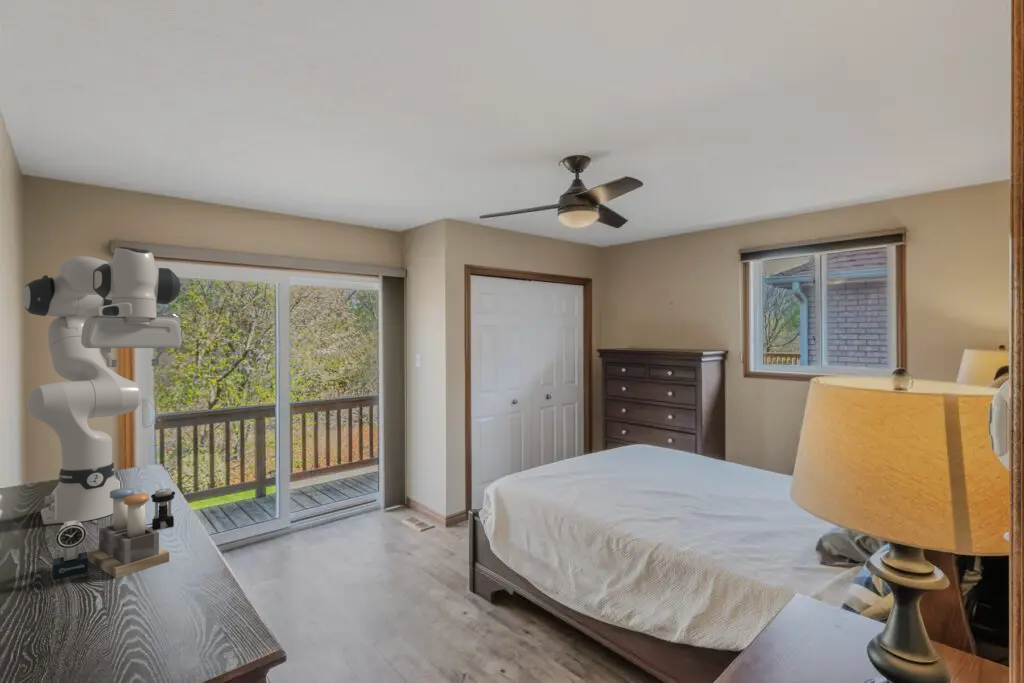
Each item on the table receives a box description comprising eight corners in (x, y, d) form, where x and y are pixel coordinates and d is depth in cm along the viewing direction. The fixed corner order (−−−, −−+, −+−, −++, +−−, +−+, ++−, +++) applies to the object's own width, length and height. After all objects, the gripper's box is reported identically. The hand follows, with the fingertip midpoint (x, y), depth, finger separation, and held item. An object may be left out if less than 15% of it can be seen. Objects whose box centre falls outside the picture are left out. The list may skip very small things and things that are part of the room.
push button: (144, 533, 128) (145, 495, 129) (144, 527, 133) (144, 490, 133) (175, 528, 133) (175, 491, 133) (174, 522, 137) (174, 486, 137)
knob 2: (120, 538, 110) (120, 497, 110) (143, 532, 113) (143, 492, 113) (128, 542, 107) (129, 500, 107) (151, 536, 111) (152, 495, 111)
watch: (52, 583, 102) (53, 530, 102) (53, 570, 108) (54, 520, 108) (88, 575, 105) (89, 523, 105) (87, 562, 111) (87, 514, 111)
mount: (87, 560, 113) (88, 529, 113) (139, 545, 121) (139, 516, 121) (115, 578, 104) (116, 545, 104) (169, 561, 112) (169, 530, 112)
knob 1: (106, 530, 114) (106, 491, 114) (129, 525, 118) (129, 486, 118) (113, 534, 112) (114, 494, 112) (136, 528, 115) (137, 489, 115)
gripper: (175, 314, 134) (175, 365, 133) (78, 309, 116) (78, 367, 116) (186, 313, 130) (186, 365, 130) (88, 308, 113) (88, 368, 113)
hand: (134, 366), depth 123 cm, fingers open, 8 cm apart
